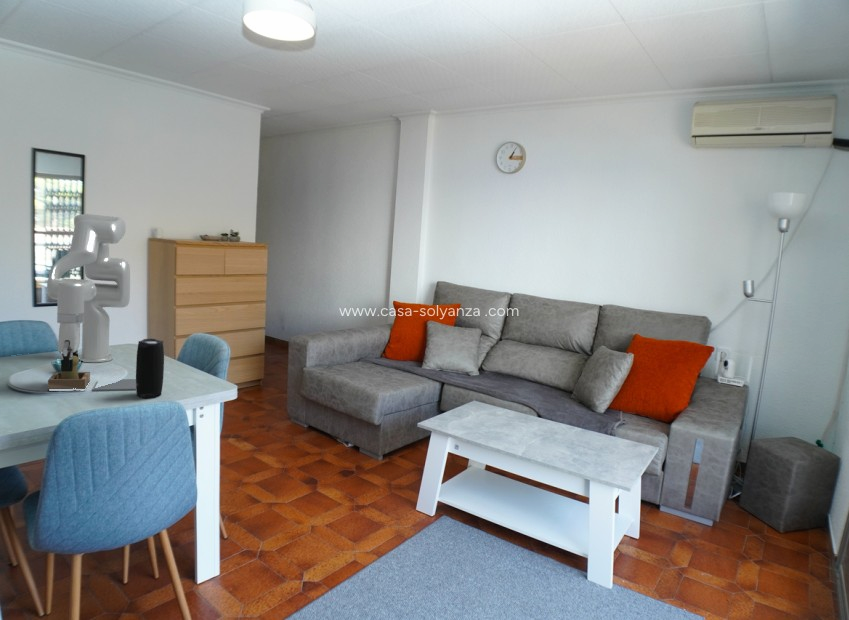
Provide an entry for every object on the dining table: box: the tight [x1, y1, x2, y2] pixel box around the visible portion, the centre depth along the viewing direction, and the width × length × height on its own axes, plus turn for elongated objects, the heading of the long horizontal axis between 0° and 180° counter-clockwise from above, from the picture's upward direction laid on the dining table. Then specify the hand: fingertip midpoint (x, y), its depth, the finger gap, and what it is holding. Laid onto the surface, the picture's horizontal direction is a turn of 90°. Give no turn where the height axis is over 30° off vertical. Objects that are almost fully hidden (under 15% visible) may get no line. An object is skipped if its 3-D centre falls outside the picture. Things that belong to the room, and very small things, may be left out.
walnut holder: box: [47, 371, 91, 390], centre depth 185 cm, size 10×10×4 cm
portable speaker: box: [135, 338, 165, 399], centre depth 183 cm, size 8×9×19 cm
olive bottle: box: [61, 355, 80, 379], centre depth 184 cm, size 6×6×11 cm
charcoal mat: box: [92, 378, 136, 392], centre depth 192 cm, size 13×13×1 cm
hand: (69, 367), depth 184 cm, fingers open, 9 cm apart
